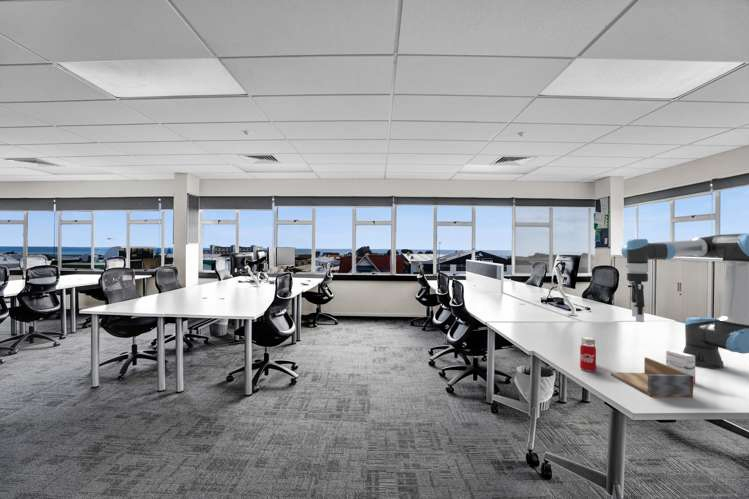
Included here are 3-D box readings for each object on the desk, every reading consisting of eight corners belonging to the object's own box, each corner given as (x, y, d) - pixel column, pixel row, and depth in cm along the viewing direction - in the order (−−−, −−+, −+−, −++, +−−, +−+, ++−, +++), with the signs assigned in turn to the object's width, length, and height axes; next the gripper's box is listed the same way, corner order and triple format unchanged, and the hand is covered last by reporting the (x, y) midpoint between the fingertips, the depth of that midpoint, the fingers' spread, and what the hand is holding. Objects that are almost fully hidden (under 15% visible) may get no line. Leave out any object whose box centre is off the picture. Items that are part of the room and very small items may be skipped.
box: (595, 366, 159) (595, 339, 159) (585, 365, 160) (585, 339, 160) (590, 362, 164) (590, 337, 164) (581, 362, 165) (581, 336, 165)
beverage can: (577, 367, 157) (577, 342, 157) (589, 367, 157) (589, 342, 157) (586, 372, 151) (586, 346, 151) (599, 372, 151) (599, 346, 151)
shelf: (647, 375, 147) (647, 357, 147) (693, 397, 125) (693, 376, 125) (610, 375, 148) (610, 356, 148) (650, 396, 126) (650, 375, 126)
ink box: (696, 383, 139) (696, 355, 139) (687, 384, 138) (687, 356, 138) (673, 375, 148) (673, 349, 148) (665, 376, 146) (665, 350, 147)
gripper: (624, 270, 162) (624, 313, 162) (630, 274, 141) (630, 323, 141) (643, 271, 158) (643, 315, 158) (652, 274, 137) (653, 325, 137)
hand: (637, 319), depth 150 cm, fingers open, 13 cm apart
